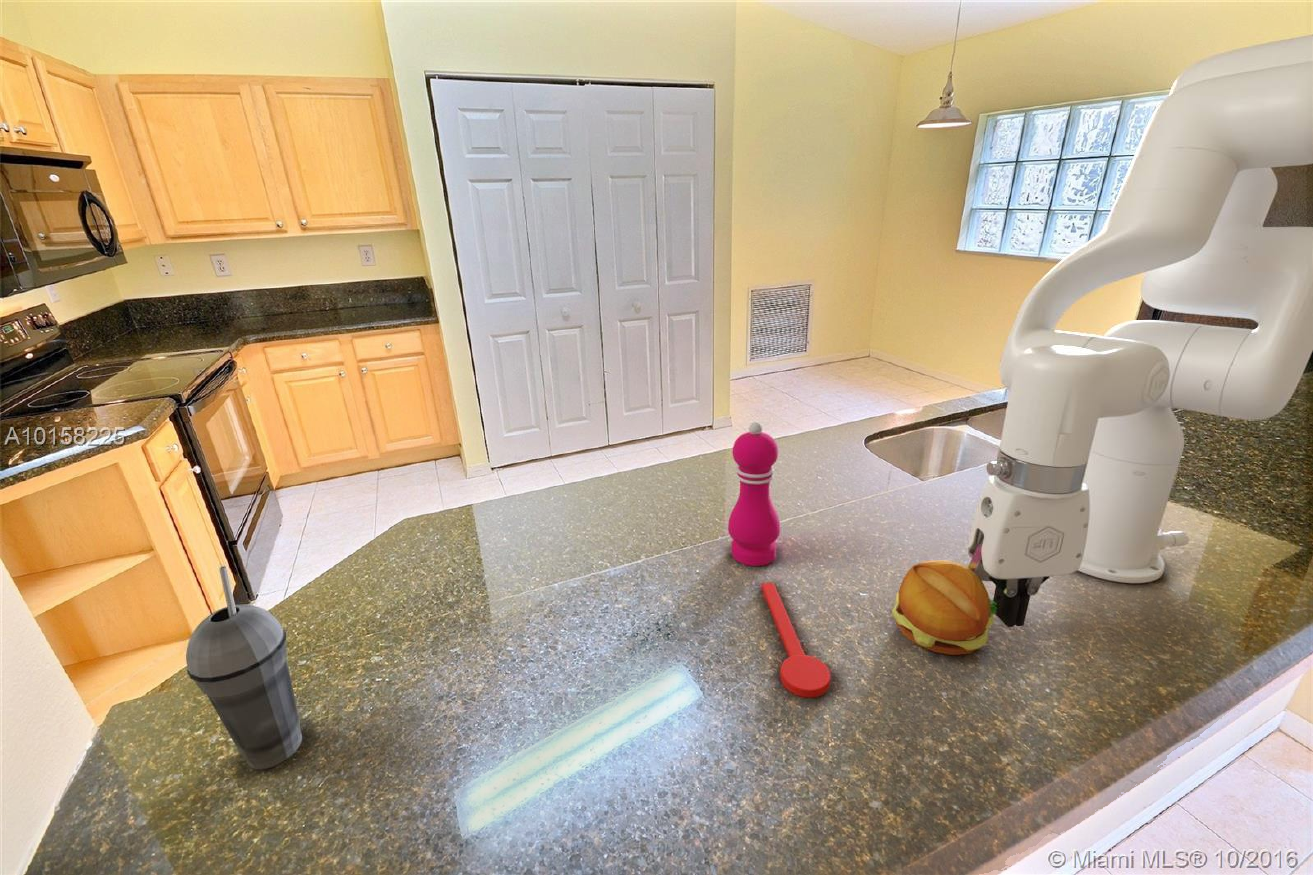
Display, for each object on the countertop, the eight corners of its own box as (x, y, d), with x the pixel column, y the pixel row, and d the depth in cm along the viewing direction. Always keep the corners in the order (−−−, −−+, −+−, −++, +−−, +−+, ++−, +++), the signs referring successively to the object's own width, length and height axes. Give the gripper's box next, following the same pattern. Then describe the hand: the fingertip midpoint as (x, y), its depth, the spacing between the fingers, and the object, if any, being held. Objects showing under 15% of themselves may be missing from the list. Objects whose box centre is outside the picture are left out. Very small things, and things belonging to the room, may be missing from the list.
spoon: (786, 586, 75) (786, 579, 75) (837, 695, 58) (837, 688, 57) (748, 589, 75) (748, 582, 74) (787, 700, 57) (788, 692, 57)
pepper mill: (779, 570, 78) (784, 432, 71) (725, 566, 80) (725, 430, 73) (779, 542, 85) (783, 413, 78) (730, 539, 86) (730, 412, 79)
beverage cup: (256, 721, 58) (191, 548, 51) (331, 713, 58) (276, 542, 51) (210, 787, 51) (127, 599, 44) (295, 778, 51) (226, 591, 44)
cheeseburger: (989, 612, 68) (1005, 552, 62) (985, 690, 60) (1003, 630, 55) (897, 590, 72) (905, 532, 67) (883, 660, 65) (890, 601, 59)
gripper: (990, 490, 55) (961, 647, 61) (1140, 480, 55) (1096, 636, 62) (947, 460, 62) (925, 603, 68) (1081, 451, 62) (1047, 594, 69)
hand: (1007, 618), depth 65 cm, fingers closed
